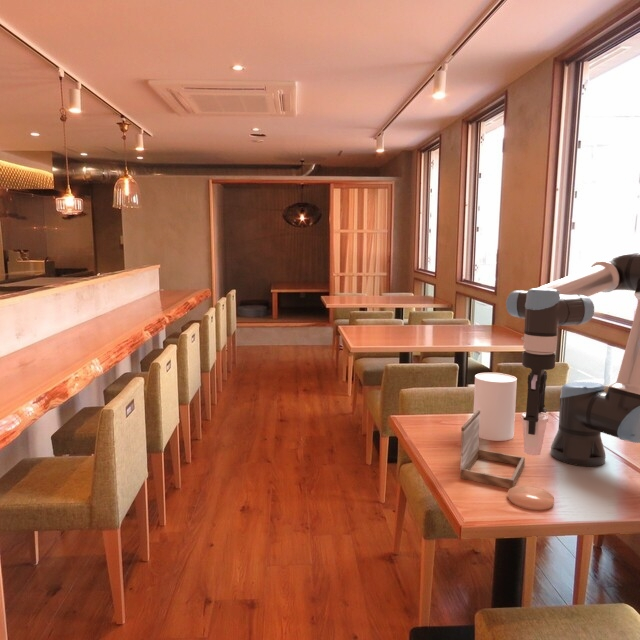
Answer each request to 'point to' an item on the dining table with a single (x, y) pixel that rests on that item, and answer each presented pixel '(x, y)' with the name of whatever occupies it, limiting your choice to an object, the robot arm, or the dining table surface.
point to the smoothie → (542, 426)
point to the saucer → (530, 498)
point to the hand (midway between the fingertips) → (533, 441)
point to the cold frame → (484, 457)
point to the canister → (495, 405)
